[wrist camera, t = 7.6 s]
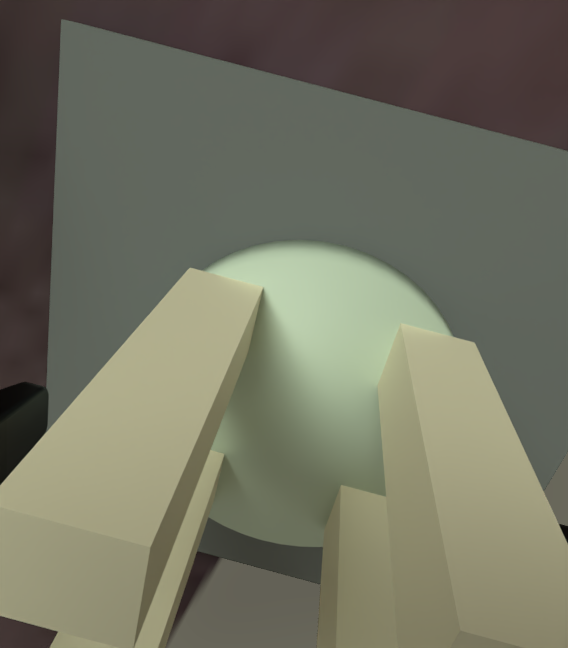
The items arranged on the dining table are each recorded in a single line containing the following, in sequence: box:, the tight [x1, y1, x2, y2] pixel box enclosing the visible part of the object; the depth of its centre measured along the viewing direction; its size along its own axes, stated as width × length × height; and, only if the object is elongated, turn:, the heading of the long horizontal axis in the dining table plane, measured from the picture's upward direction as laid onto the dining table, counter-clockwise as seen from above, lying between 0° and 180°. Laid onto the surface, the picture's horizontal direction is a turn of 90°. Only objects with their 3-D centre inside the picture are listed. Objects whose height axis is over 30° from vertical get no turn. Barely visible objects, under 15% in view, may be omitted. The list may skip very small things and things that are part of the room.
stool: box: [0, 240, 568, 648], centre depth 9 cm, size 7×7×7 cm
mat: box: [46, 19, 568, 584], centre depth 12 cm, size 12×12×1 cm
